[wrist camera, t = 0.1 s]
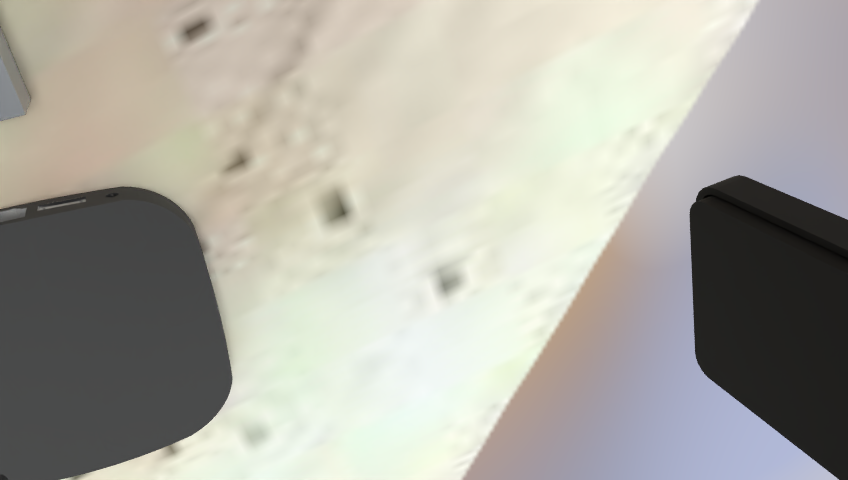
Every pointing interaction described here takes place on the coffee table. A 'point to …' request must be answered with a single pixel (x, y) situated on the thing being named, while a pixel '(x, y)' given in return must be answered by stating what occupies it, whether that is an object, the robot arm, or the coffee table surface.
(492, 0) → the coffee table surface
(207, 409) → the media streaming box
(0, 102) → the power strip
